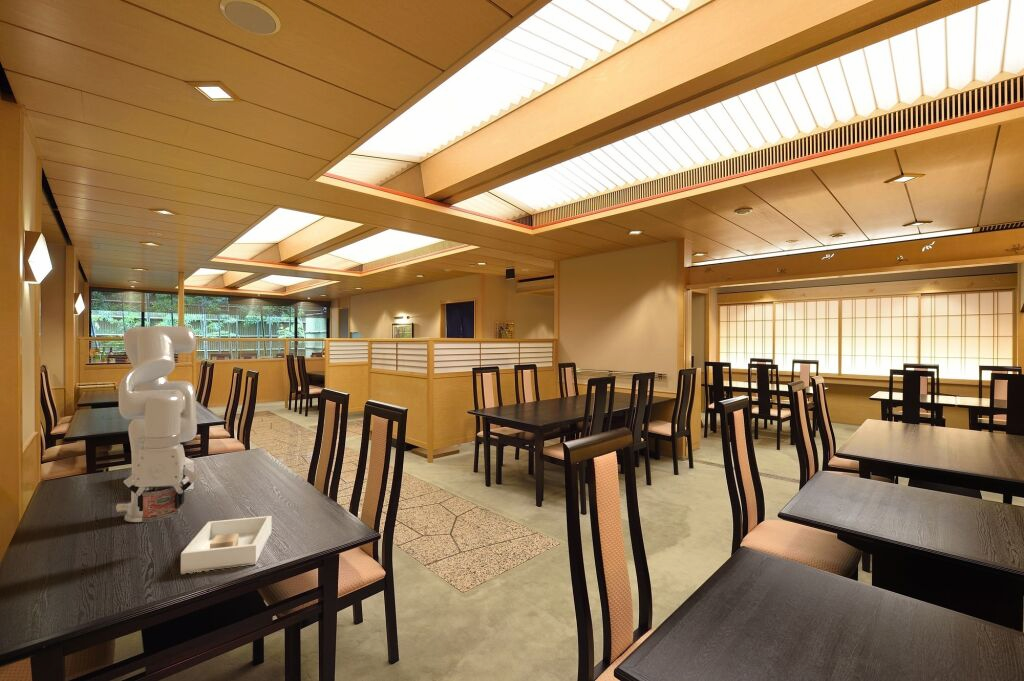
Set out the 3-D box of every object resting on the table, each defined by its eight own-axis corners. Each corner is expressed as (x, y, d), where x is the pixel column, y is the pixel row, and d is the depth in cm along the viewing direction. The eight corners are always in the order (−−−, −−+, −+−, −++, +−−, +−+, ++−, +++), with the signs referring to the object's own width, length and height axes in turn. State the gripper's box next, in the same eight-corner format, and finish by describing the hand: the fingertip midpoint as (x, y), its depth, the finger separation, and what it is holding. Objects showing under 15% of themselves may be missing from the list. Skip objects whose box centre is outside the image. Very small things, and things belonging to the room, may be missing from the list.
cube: (209, 564, 113) (209, 543, 113) (216, 554, 118) (216, 535, 118) (232, 561, 115) (232, 541, 115) (238, 552, 119) (238, 533, 119)
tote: (180, 574, 110) (180, 553, 110) (208, 539, 129) (208, 521, 129) (255, 565, 114) (255, 545, 114) (271, 532, 133) (271, 515, 133)
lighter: (144, 523, 117) (144, 484, 116) (140, 519, 119) (140, 481, 118) (181, 513, 123) (182, 477, 123) (176, 510, 125) (177, 474, 125)
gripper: (114, 446, 114) (113, 516, 115) (195, 443, 119) (194, 511, 120) (129, 439, 121) (128, 505, 122) (205, 436, 126) (204, 500, 127)
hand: (161, 507), depth 121 cm, fingers closed on lighter, 7 cm apart
